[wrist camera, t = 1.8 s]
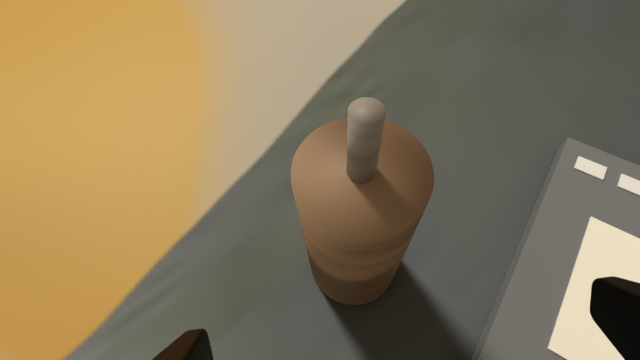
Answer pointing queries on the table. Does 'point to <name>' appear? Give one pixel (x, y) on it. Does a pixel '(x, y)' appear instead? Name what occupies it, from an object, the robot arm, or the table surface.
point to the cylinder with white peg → (359, 200)
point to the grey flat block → (567, 260)
